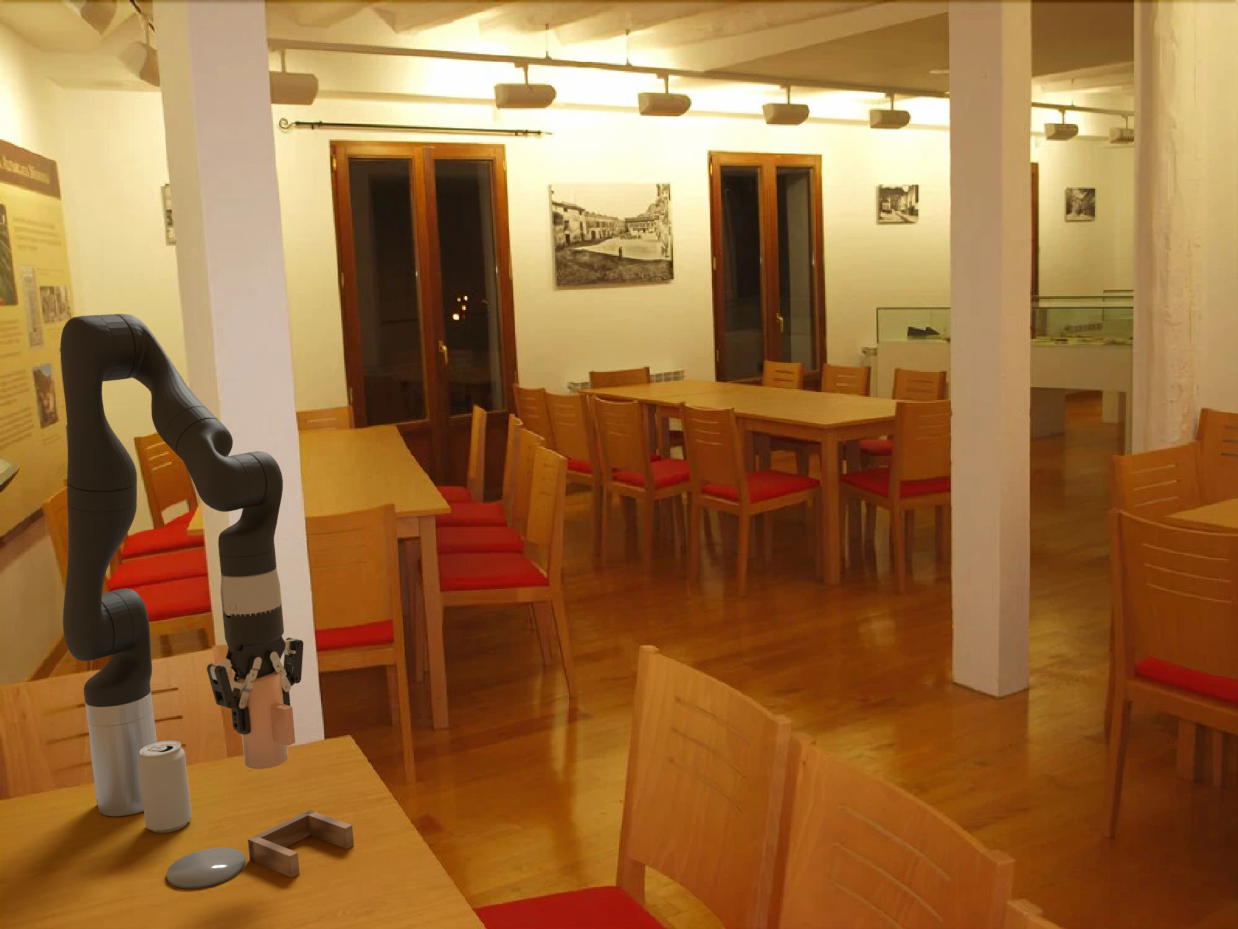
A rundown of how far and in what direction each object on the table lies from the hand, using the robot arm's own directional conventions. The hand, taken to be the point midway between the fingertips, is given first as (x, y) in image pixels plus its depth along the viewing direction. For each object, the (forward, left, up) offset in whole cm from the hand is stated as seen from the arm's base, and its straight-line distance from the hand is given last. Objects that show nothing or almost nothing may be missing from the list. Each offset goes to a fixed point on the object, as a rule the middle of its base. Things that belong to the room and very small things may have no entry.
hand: (262, 724), depth 156 cm
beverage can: (-22, -2, -19) cm, 29 cm away
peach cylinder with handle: (+1, 0, -5) cm, 5 cm away
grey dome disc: (-5, -7, -19) cm, 21 cm away
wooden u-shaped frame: (+3, +3, -19) cm, 19 cm away
